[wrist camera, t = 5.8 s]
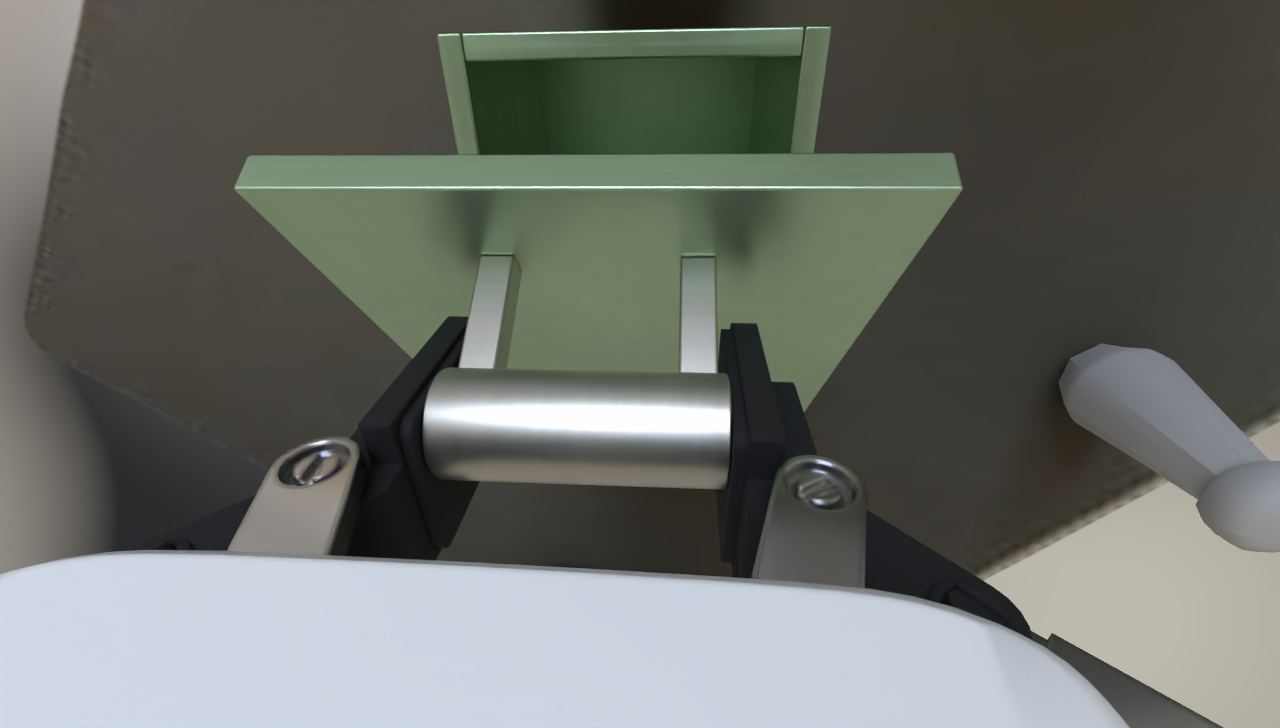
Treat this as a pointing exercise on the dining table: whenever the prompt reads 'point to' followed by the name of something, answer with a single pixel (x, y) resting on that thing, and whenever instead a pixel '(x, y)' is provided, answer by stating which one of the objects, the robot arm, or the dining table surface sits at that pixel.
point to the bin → (636, 90)
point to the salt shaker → (1177, 438)
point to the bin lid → (606, 288)
